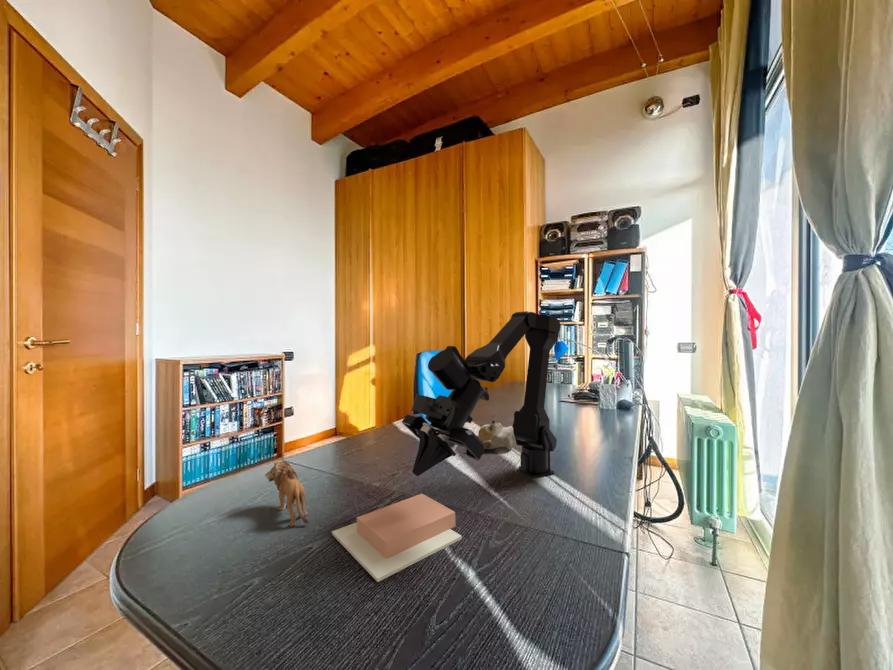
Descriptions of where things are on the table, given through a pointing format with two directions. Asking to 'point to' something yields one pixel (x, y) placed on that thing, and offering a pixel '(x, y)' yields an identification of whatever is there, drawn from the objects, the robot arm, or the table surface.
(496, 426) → the ceramic sculpture
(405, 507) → the terracotta board
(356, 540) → the rubber mat
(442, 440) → the robot arm
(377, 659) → the table surface
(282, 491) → the lion figurine
